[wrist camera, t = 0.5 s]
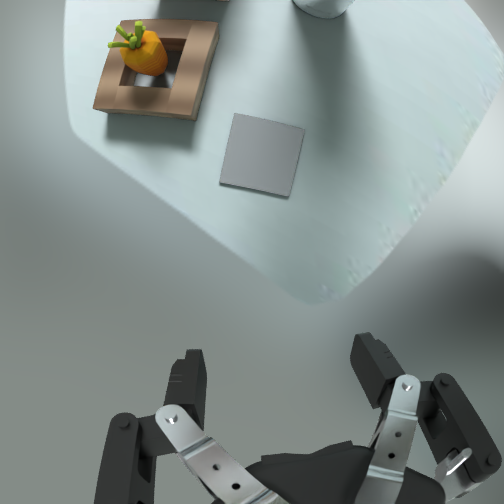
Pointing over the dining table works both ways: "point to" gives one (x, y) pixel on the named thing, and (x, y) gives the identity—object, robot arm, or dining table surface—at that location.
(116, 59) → the socket block
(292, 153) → the rubber mat
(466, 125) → the dining table surface
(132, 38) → the carrot
